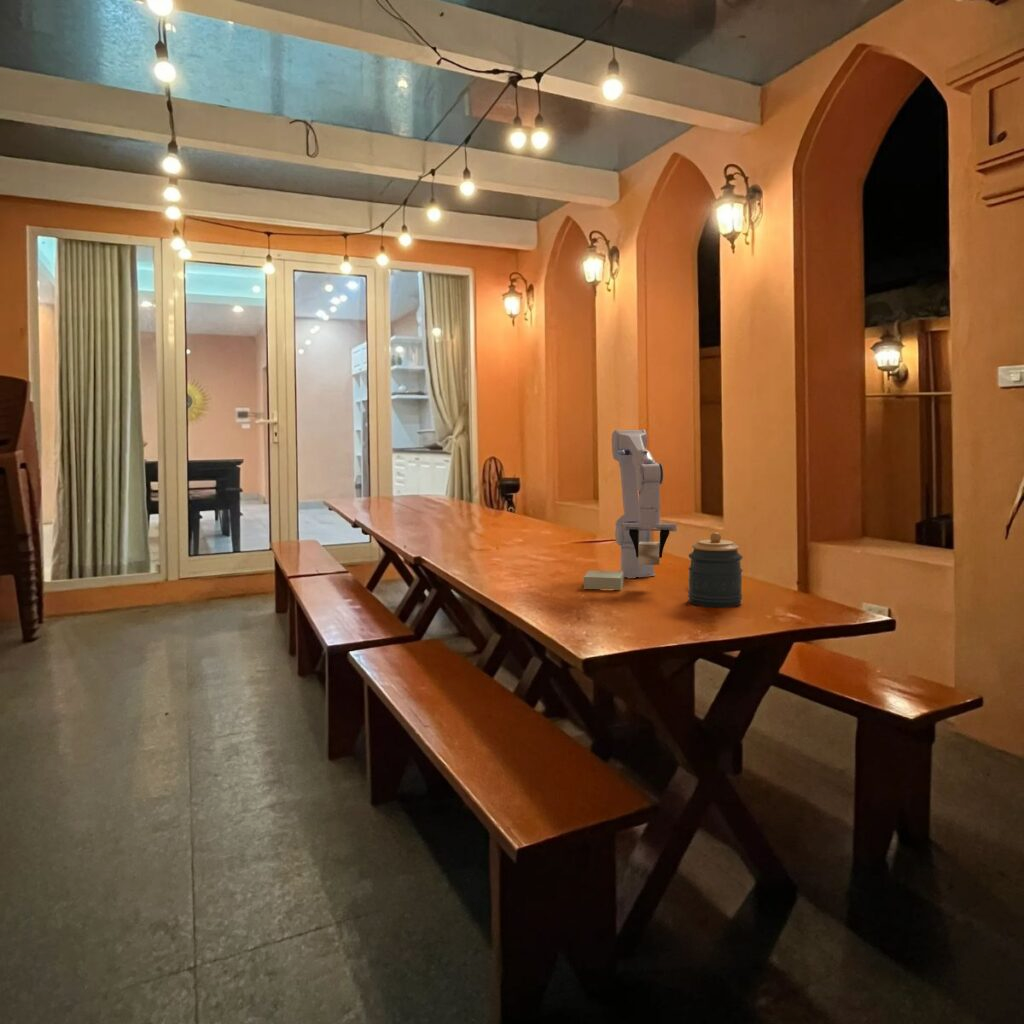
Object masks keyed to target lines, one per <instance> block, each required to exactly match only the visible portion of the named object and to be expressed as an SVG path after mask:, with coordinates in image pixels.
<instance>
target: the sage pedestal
mask: <svg viewBox="0 0 1024 1024" xmlns="http://www.w3.org/2000/svg"><path fill="white" fill-rule="evenodd" d="M624 579H625V577H624V572H622V571H621V570H619V571H618V570H617V571H616V570H615V571H614V570H613V571H611V570H588V571H587V572H586V573H585V574H584V576H583V590H584V589H614V590H621V591H622V589H623V586H624V584H623V583H624ZM622 585H623V586H622ZM621 588H622V589H621Z"/></svg>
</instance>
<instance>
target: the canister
mask: <svg viewBox="0 0 1024 1024" xmlns="http://www.w3.org/2000/svg"><path fill="white" fill-rule="evenodd" d="M709 538H710V539H701V540H698V541H697V542H696V543H694V544H692V546H691V548H692V549H693V551H692V552H690V553H689V554H688V558H689V559H690V566H689V567H688V592H687V593H688V595H687V597H688V600H689V603H690V602H691V604H693V605H695V606H698V607H704V608H705V607H706V608H719V609H720V608H733V607H738V606H740V605H741V604H742V600H743V592H742V588H743V587H742V584H743V583H742V581H743V578H742V577H743V568H742V567H741V560H743V555H742V554H741V553H739V551H738V550H739V549H740V546H739V545H738V544H736V543H735V542H734V541H733V540H726V539H722V535H721V534H720V533H719V532H712V533H711V534H710V537H709Z"/></svg>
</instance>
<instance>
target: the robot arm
mask: <svg viewBox="0 0 1024 1024" xmlns="http://www.w3.org/2000/svg"><path fill="white" fill-rule="evenodd" d="M647 446H648V434H647V431H646V430H645V429H625V430H623V429H622V430H619V429H614V431H612V435H611V450H612V451H611V454H612V456H613V457H612V458H613V460H615V461H617V462H618V465H619V470H620V471H619V473H620V482H621V492H622V493H621V494H622V495H621V496H622V507H623V514H622V515H621V516H620V517H619V518H617V520H616V522H615V532H614V535H615V543H616V544H617V545H618V546H619V547H620V571H622V572H624V578H626V577H627V578H626V579H635V578H636V577H639V578H646V577H654V576H656V574H655V565H640V564H638V544H639V542H652V532H659V531H660V532H659V542H660V551H659V558H660V559H662V558H663V552H664V547H665V545H666V542H667V540H668V538H669V535H670V532H677V529H678V527H677V523H665V522H661V485H662V484H663V482H664V467H663V464H662V463H661V462H656V460H655V458H654V456H653V455H652V453H651V452H650V450H648V449H647Z"/></svg>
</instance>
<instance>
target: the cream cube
mask: <svg viewBox="0 0 1024 1024" xmlns="http://www.w3.org/2000/svg"><path fill="white" fill-rule="evenodd" d="M659 551H660V541H650V542H639V544H638V564H640V565H654V566H660V563H661V560H660V559H661V558H659Z"/></svg>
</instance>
